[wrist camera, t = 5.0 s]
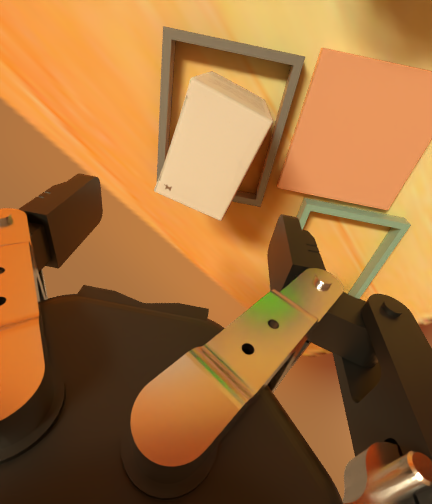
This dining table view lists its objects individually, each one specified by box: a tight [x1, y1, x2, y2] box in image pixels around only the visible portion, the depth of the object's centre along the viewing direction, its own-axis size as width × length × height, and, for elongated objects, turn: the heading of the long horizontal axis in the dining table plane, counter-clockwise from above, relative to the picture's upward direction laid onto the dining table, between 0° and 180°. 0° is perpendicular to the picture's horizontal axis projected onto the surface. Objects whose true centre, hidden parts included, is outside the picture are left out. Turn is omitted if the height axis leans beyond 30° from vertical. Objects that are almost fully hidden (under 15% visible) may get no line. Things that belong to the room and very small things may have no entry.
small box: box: [154, 71, 273, 221], centre depth 22 cm, size 8×6×10 cm
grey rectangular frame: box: [157, 26, 305, 207], centre depth 26 cm, size 11×13×2 cm
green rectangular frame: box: [270, 198, 411, 299], centre depth 33 cm, size 11×13×2 cm
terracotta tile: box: [277, 48, 432, 210], centre depth 26 cm, size 12×12×1 cm
